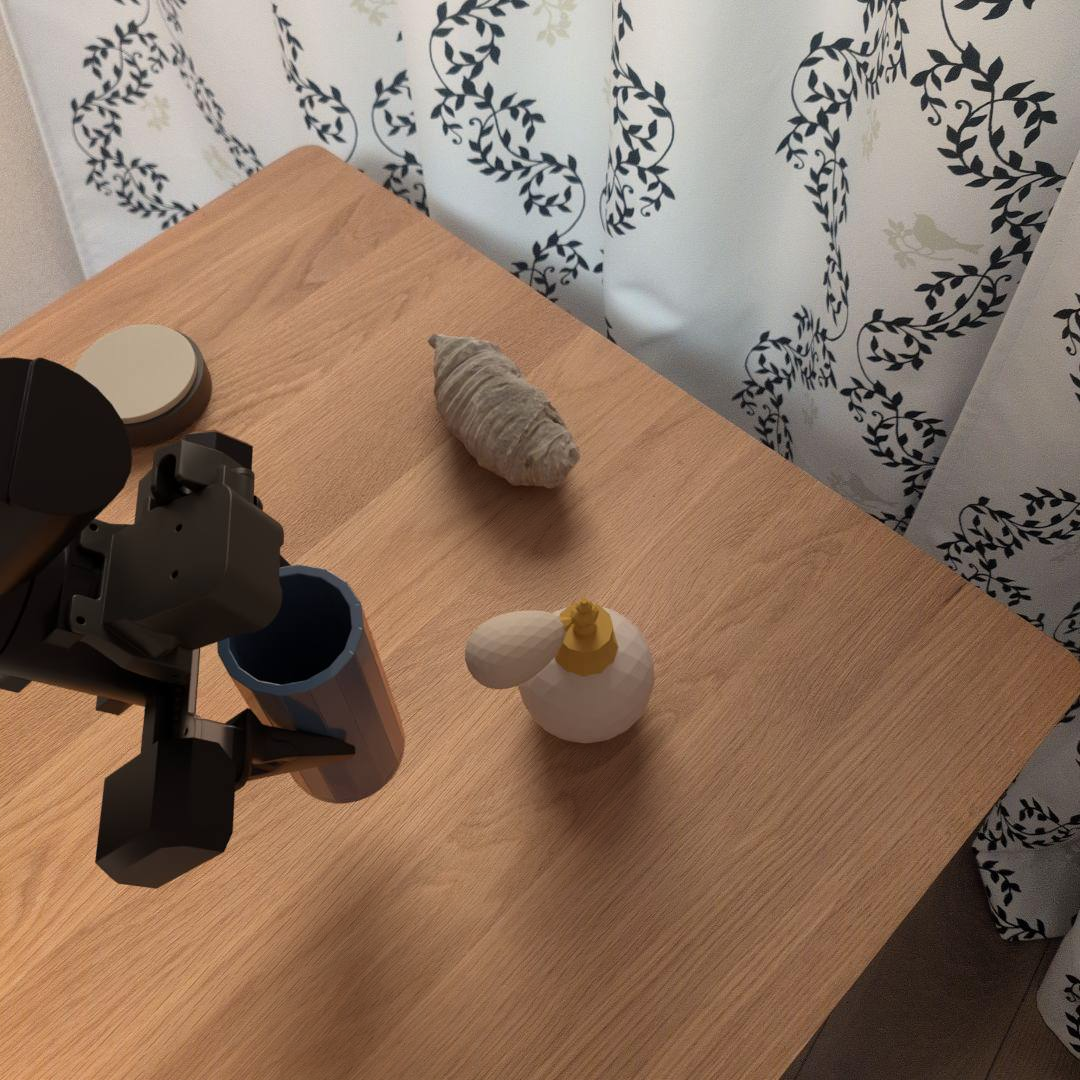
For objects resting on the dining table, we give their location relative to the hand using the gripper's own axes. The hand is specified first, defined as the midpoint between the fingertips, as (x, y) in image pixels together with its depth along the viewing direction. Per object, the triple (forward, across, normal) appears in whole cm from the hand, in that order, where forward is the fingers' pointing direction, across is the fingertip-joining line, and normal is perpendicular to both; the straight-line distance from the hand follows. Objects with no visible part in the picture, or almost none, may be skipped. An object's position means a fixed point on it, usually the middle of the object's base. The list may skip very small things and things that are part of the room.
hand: (350, 689), depth 53 cm
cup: (+4, 0, +6) cm, 7 cm away
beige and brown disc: (-3, +30, +20) cm, 36 cm away
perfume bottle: (+16, +3, +2) cm, 17 cm away
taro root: (+14, +23, +4) cm, 27 cm away
